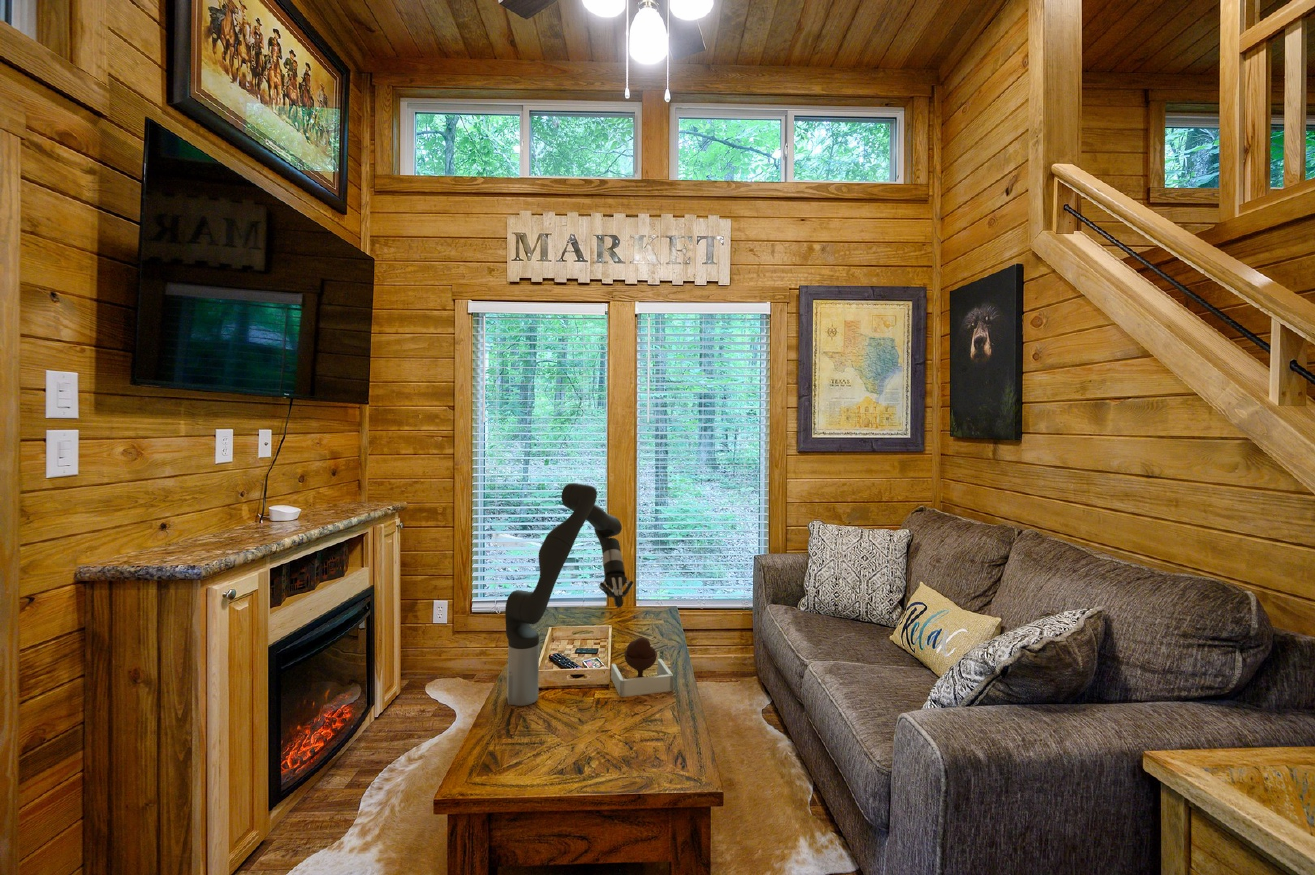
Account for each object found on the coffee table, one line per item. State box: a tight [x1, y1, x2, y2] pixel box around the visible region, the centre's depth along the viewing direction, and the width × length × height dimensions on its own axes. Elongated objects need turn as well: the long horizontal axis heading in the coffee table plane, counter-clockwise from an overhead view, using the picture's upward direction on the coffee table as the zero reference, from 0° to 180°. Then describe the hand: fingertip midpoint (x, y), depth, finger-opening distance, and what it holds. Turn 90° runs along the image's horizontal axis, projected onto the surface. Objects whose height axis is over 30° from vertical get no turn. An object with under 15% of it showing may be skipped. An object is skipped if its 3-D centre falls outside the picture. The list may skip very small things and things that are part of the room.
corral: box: [610, 658, 675, 698], centre depth 192 cm, size 17×14×5 cm
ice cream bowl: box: [624, 636, 658, 678], centre depth 194 cm, size 11×11×15 cm
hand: (619, 606), depth 208 cm, fingers closed
